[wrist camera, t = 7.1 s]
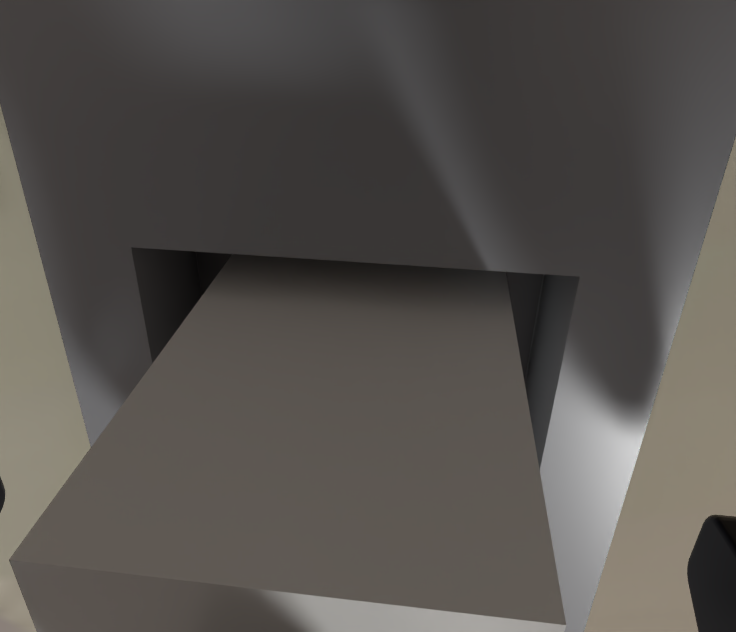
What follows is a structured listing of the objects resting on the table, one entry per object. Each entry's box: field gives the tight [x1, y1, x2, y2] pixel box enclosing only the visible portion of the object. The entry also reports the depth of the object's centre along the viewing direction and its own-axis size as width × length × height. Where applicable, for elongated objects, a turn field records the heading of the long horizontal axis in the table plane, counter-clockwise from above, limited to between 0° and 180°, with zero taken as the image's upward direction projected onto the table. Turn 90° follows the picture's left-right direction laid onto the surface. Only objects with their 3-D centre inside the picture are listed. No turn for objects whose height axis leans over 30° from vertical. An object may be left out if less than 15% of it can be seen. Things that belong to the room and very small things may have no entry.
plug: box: [9, 254, 566, 632], centre depth 7 cm, size 4×4×8 cm
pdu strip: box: [0, 0, 736, 632], centre depth 8 cm, size 18×8×3 cm, turn 179°
